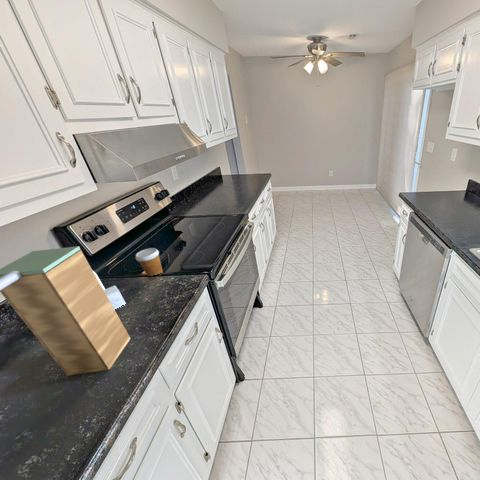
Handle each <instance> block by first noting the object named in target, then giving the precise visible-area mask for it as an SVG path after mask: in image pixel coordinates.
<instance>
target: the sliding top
mask: <svg viewBox="0 0 480 480" xmlns="http://www.w3.org/2000/svg"><path fill="white" fill-rule="evenodd" d="M79 250H81V246H79V245H78V246H69V247H68V246H67V247H58V248H50V249H42V250H40V249H39V250H32V251H30V252H28V253H27V254H25V255H23V256H21V257H19V258H17V259H16V260H14V261H12V262H10V263H8V264H6V265H5V266H3V267H1V268H0V290H2V289H3V288H5V287H7V286H8V285H10V284H12V283H13V282H15V281H16V280H18V279H20V278H21V277H22V275H31V274H40V273H45V272H47V271H48V270H50V269H51V268H53V267H54V266H56V265H58V264H59V263H61V262H62V261H64V260H65V259H67V258H68V257H70V256H71V255H73V254H74V253H76V252H77V251H79Z"/></svg>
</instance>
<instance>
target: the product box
mask: <svg viewBox="0 0 480 480" xmlns="http://www.w3.org/2000/svg"><path fill="white" fill-rule="evenodd" d="M104 292H105V294H106V295H107V297H108V299H109V301H110V303H111V304H112V306H113V308H114V310H115V309H116V310H118V309H120V308H122V307H123V306H122V305H124V306H126V305H127V302H126V301H125V298H124V297H123V296H122V295H123V294H121V292H120V289H118V287H117V286H116V285H112V286H110V287H108V288H105V290H104ZM125 304H126V305H125ZM121 306H122V307H121ZM119 307H120V308H119ZM117 308H118V309H117ZM116 310H115V311H116Z"/></svg>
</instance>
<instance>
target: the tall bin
mask: <svg viewBox="0 0 480 480" xmlns="http://www.w3.org/2000/svg"><path fill="white" fill-rule="evenodd" d="M92 270H93V269H92V267H91V265H90V263H89V261H88V260H87V258H86V256H85V254H84V253H83V251H82V249H80V250H79V251H77V252H76V253H74V254H73V255H71V256H70V257H68V258H67V259H65V260H64V261H62V262H61V263H59V264H58V265H56V266H54V267H53V268H51V269H50V270H48V271H47V272H45V273H40V274H31V275H22V277H21V278H20V279H18V280H16V281H15V282H13V283H12V284H10V285H8V286H7V287H5V288H3V289H2V290H0V294H1V295H2V296H3V297H4V299H5V300H6V301H7V302H8V304H9V305H10V306H11V307H12V309H13V310H14V311H15V312H16V314H17V315H18V316H19V317H20V319H21V320H22V321H23V323H24V324H25V325H26V326H27V328H28V329H29V330H30V332H32V334H33V335H34V336H35V338H36V339H37V340H38V341H39V343H40V344H41V345H42V346H43V348H44V350H46V352H47V353H48V354H49V355H50V357H51V358H52V359H53V360H54V361H55V363H56V365H58V367H59V368H60V369H61V371H62V372H63V373H64V374H65V375H66V376H67V377H68V376H75V375H82V374H88V373H95V372H103V371H110V370H111V368H112V366H113V365H114V363H116V361H117V359H118V358H119V357H120V355H121V353H122V352H123V351H124V349H125V348H126V346H127V345H128V343H129V342H130V340H131V337H130V334H129V333H128V331H127V329H126V327H125V326H124V324H123V322H122V320H121V319H120V317H119V315H118V313H117V311H116V310H114V308H113V306H112V304H111V303H110V301H109V299H108V297H107V295H106V294H105V292H104V290H103V288H102V287H101V285H100V283H99V281H98V279H97V278H96V276H95V274H94V272H95V271H94V270H93V271H94V272H93V271H92Z"/></svg>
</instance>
